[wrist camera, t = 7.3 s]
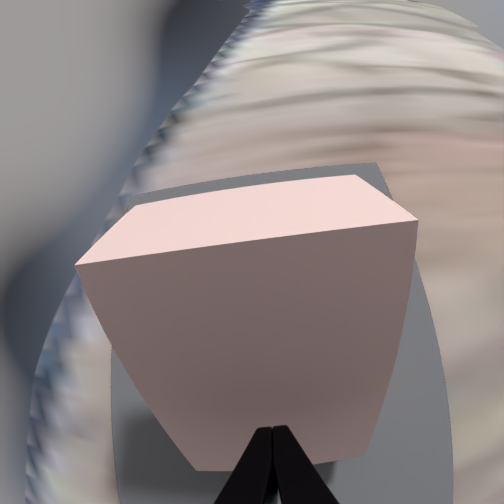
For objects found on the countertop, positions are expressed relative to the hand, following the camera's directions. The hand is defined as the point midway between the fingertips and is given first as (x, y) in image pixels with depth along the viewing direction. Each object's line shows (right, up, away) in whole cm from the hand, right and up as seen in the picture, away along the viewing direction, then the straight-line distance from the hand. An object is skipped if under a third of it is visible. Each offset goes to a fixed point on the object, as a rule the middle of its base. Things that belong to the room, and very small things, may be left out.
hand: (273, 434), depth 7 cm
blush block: (+1, -3, +4) cm, 5 cm away
